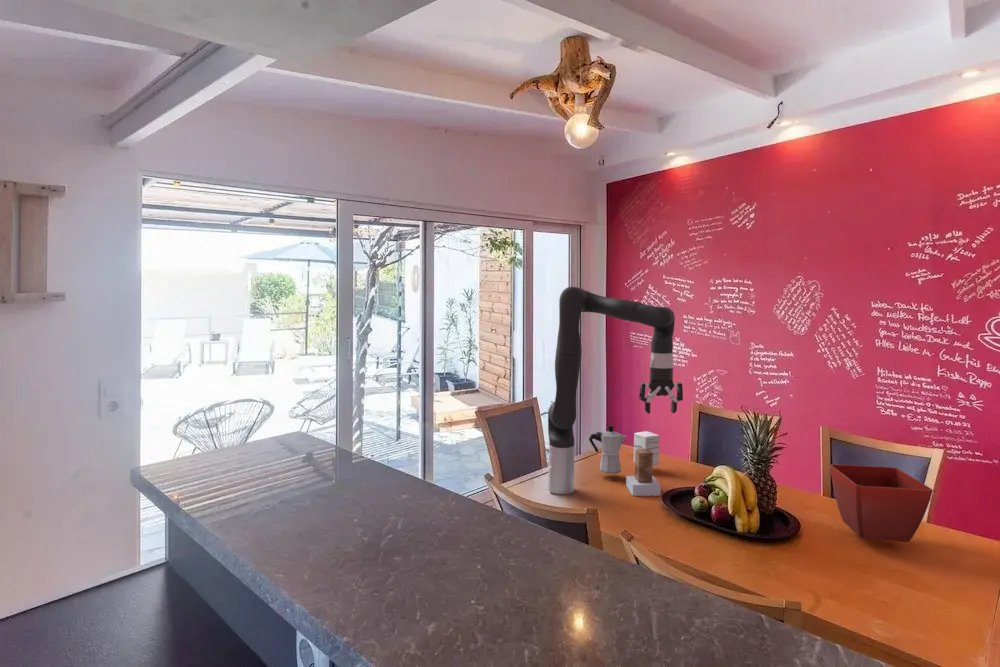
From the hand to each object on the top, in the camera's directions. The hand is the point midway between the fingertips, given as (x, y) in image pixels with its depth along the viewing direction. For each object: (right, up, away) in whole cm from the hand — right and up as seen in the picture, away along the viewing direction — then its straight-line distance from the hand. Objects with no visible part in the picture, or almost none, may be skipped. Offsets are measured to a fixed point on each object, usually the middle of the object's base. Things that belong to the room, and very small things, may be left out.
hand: (660, 412), depth 187 cm
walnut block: (-2, -27, +15) cm, 31 cm away
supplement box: (+5, -27, +37) cm, 46 cm away
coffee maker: (-12, -27, +30) cm, 42 cm away
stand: (-2, -31, +15) cm, 35 cm away
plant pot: (+55, -31, -26) cm, 69 cm away
